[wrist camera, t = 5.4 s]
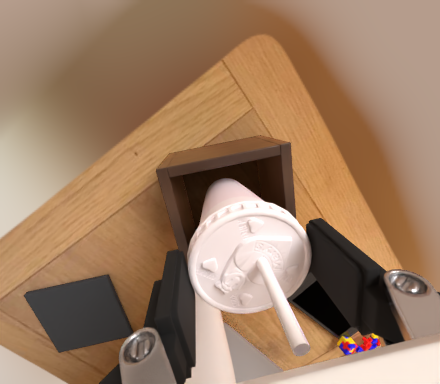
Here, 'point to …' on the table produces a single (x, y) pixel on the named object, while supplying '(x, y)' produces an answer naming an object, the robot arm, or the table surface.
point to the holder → (220, 157)
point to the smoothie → (249, 256)
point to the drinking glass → (211, 348)
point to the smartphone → (320, 307)
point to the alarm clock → (248, 358)
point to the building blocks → (350, 346)
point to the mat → (80, 313)
